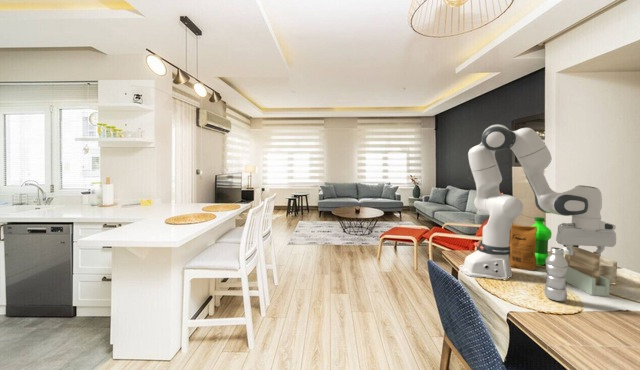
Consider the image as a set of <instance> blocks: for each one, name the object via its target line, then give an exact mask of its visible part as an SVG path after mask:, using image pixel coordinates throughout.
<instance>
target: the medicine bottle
mask: <svg viewBox="0 0 640 370" xmlns="http://www.w3.org/2000/svg"><path fill="white" fill-rule="evenodd" d="M562 246H563V247H560V248H561V249H564V253H566V254H568V251H569V250H568V249H567V248H566V245H562ZM573 247H578V248H580V246H579V245H573Z"/></svg>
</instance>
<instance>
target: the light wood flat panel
mask: <svg viewBox="0 0 640 370" xmlns="http://www.w3.org/2000/svg"><path fill="white" fill-rule="evenodd" d="M572 250H573V251H575V256H574V255H570V267H571V268H573V269H575V270H578V271H580V272H582V273H584V274H586V275H589V276H591V277H593V278H595V279H596V285H598V282H599V262H600V255H598V254H595V253H593V252H594V251H593V252H592V251H590V250H587V249H583V248H580V247H579V248H578V247H573V248H572Z"/></svg>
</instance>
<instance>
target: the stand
mask: <svg viewBox="0 0 640 370" xmlns="http://www.w3.org/2000/svg"><path fill="white" fill-rule="evenodd" d="M565 282H566V283H568V284H570V285H572V286H573V287H576V288H577V289H579V290H581V291H583V292H585V293H586V294H588V295H590V296H599V297H610V285H611V284H610V279H607V278H605V277H603V276H600V275H599V282H598V285H596V279H595V278H593V277H591V276H589V275H586V274H584V273H582V272H580V271H578V270H575V269H573V268H571V267H569V266H568V268H567V272H566V280H565Z"/></svg>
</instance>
